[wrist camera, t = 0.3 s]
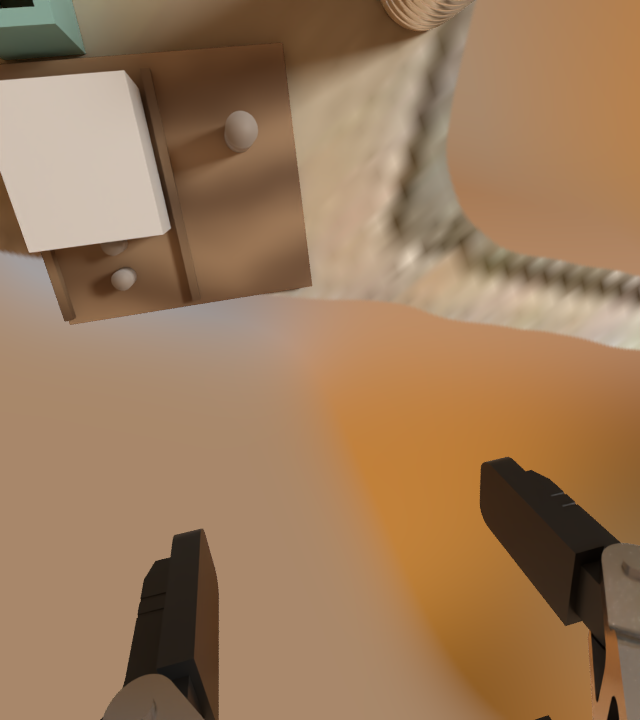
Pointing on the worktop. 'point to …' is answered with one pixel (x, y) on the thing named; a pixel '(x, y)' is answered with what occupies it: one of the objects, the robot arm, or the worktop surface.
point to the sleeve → (40, 31)
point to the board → (196, 186)
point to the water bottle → (423, 12)
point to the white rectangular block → (79, 160)
